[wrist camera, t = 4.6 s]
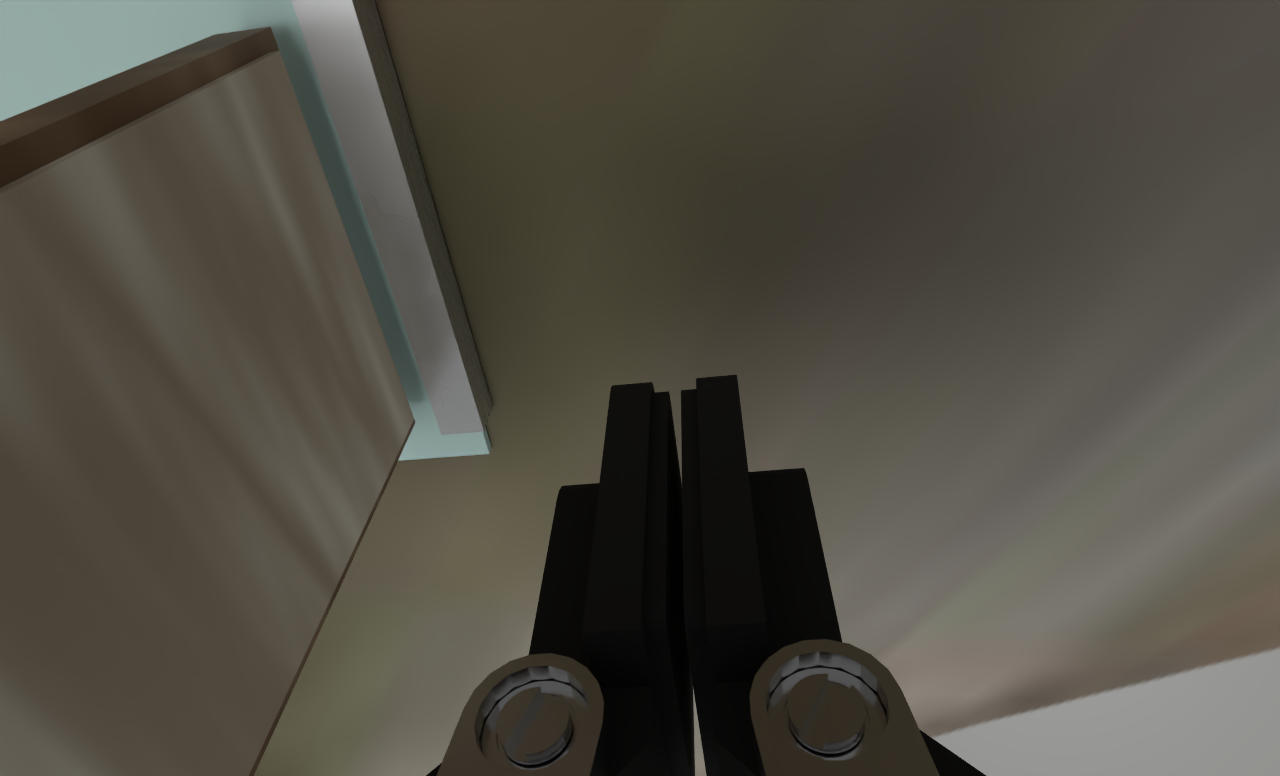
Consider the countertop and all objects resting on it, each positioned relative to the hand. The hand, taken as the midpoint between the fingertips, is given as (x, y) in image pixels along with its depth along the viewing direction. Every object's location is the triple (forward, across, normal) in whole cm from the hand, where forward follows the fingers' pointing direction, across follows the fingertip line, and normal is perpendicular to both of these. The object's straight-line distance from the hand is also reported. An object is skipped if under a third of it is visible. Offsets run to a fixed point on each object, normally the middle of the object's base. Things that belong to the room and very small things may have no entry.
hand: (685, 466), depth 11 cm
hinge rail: (+10, +6, 0) cm, 12 cm away
